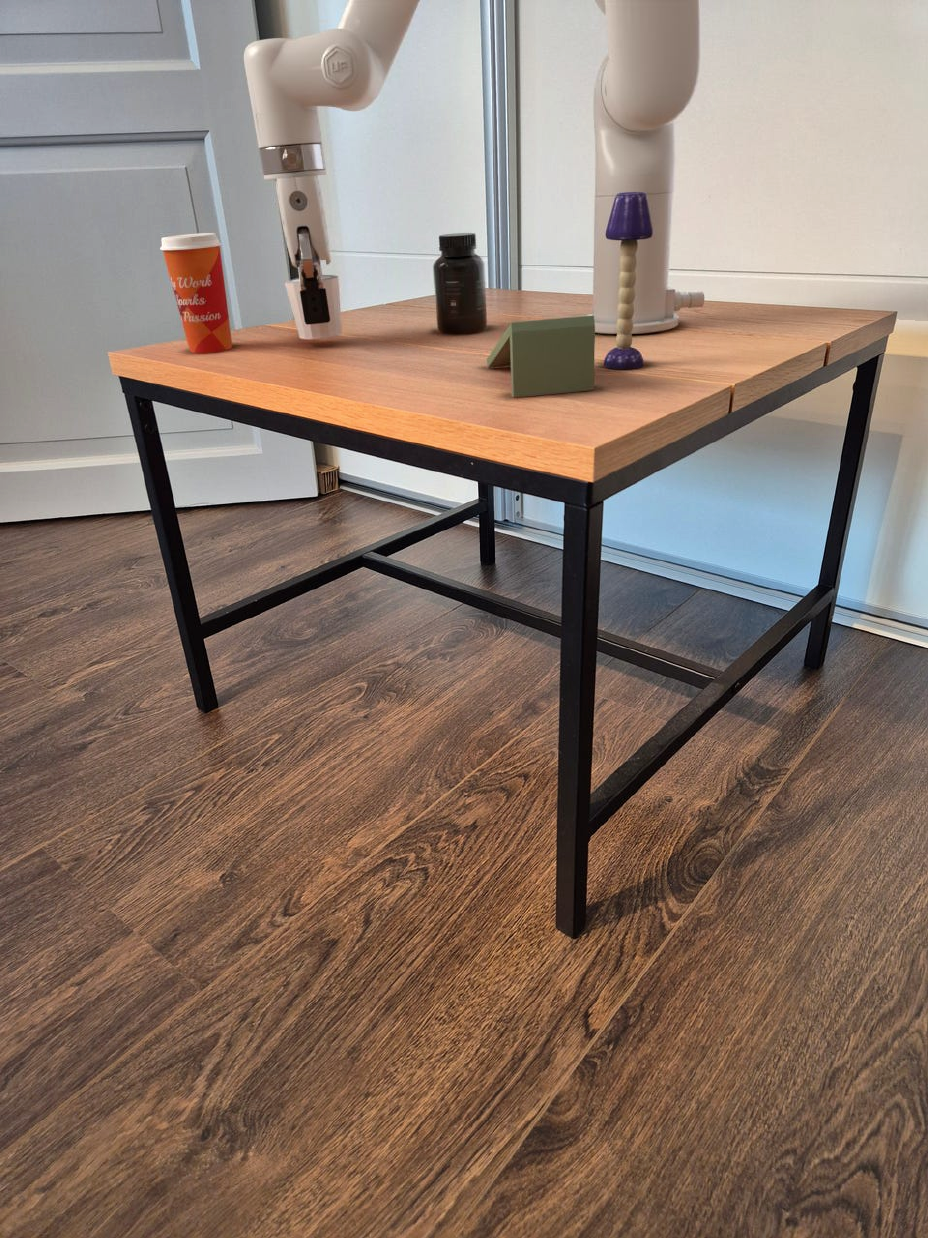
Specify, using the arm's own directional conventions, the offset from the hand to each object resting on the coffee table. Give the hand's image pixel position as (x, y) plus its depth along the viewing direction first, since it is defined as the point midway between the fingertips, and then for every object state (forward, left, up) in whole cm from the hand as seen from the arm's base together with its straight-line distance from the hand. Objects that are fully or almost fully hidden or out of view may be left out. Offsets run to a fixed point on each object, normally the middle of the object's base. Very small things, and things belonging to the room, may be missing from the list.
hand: (317, 317), depth 109 cm
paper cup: (+15, -4, -4) cm, 16 cm away
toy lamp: (-32, +28, -4) cm, 43 cm away
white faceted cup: (0, 0, -2) cm, 2 cm away
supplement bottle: (-19, -2, -4) cm, 20 cm away
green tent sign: (-22, +30, -4) cm, 37 cm away
